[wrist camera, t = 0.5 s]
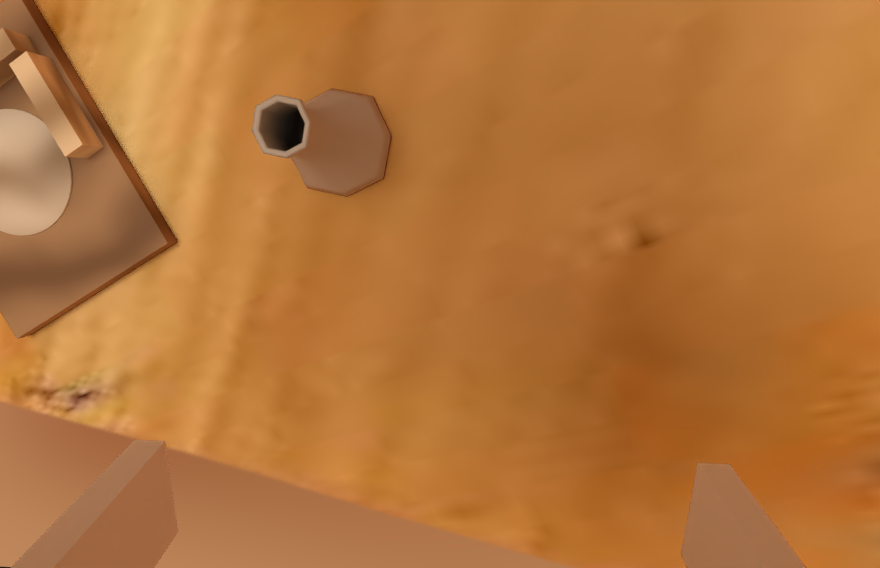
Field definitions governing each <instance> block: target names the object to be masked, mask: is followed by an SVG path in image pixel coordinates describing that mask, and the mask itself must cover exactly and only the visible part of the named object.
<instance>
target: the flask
mask: <svg viewBox="0 0 880 568" xmlns="http://www.w3.org/2000/svg"><path fill="white" fill-rule="evenodd" d="M252 132H253V134H254V136H255V138H256V140H257V142H258V144H259V146H260V148H261V150H262V152H263V153H264V154H269V155H274V156H278V157H283V158H291V159H292V160H293V162H294V164H295V165H296V167H297V169H298V170H299V172H300V174H301V176H302V179H303V181H304V183H305V185H306V186H307V188H309V189H313V190H318V191H323V192H328V193H332V194H337V195H342V196H346V197H347V196H349V195H351V194H353V193H355V192H357V191H359V190H361V189H363V188H365V187H367V186H369V185H371V184H373V183H375V182H377V181H379V180H381V179H383V177H384V172H385V166H386V160H387V155H388V149H389V144H390V138H391V135H390V133H389V131H388V129H387V126H386V124H385V122H384V120H383V118H382V116H381V114H380V111H379V109H378V107H377V105H376V103H375V101H374V99H373V96H368V95H363V94H358V93H353V92H347V91H342V90H337V89H330V90H328V91H326V92H324V93H322V94H321V95H319V96H317V97H315V98H313V99H311V100H310V101H308V102H306V103H304V104H303V102H302V100H300V99H296V98H291V97H286V96H280V95H275V96H273V97H271V98H269V99H267V100H266V101H264V102H262V103H260V104H258V105H257V106H255V114H254V121H253V128H252Z"/></svg>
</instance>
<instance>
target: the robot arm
mask: <svg viewBox="0 0 880 568" xmlns="http://www.w3.org/2000/svg"><path fill="white" fill-rule="evenodd" d="M177 532H178V529H177V521H176V514H175V507H174V500H173V493H172V486H171V479H170V472H169V465H168V458H167V451H166V444H165V441H152V440H134V441H133V442H132V443H131V444H130V445H129V447H127V449H126V450H125V451H124V452H123V453H122V454H121V455H120V456H119V457H118V458H117V459H116V460H115V461H114V462H113V463H112V464H111V465H110V466H109V467H108V468H107V469H106V470H105V471H104V472H103V473H102V474H101V475H100V476H99V477H98V478H97V480H95V482H94V483H93V484H92V485H91V486H90V487H89V488H88V489H87V490H86V491H85V492H84V493H83V494H82V495H81V496H80V497H79V498H78V499H77V500H76V501H75V502H74V503H73V504H72V505H71V506H70V508H68V509H67V510H66V511H65V512H64V513H63V514H62V515H61V516H60V517H59V519H58V520H57V521H56V522H55V523H54V524H53V525H52V526H51V527H50V528H49V529H48V530H47V531H46V532H45V533H44V534H43V535H42V536H41V537H40V538H39V539H38V540H37V541H36V542H35V543H34V544H33V545H32V547H30V549H28V550H27V551H26V553H25V554H24V555H23V556H22V557H21V558H20V559H19V560H18V561H17V562H16V563H15V564H14V565H13V566H12V567H0V568H154V567H155V566H156V564H157V563H158V561H159V560H160V558H161V557H162V555H163V554H164V552H165V551H166V549H167V548H168V546H169V545H170V543H171V542H172V540H173V539H174V537H175V536H176V534H177ZM681 556H682V558H683V560H684V562H685V564H686V566H687V568H806V567H805V566H804V564H803V563H802V561H801V560H800V559H799V557H798V556H797V555H796V553H795V552H794V551H793V549H792V548H791V547H790V545H789V544H788V542H787V541H786V540H785V538H784V537H783V536H782V534H781V533H780V532H779V530H778V529H777V528H776V526H775V525H774V523H773V522H772V521H771V519H770V518H769V517H768V515H767V514H766V513H765V511H764V510H763V508H762V507H761V506H760V504H759V503H758V502H757V500H756V499H755V498H754V496H753V495H752V494H751V492H750V491H749V489H748V488H747V487H746V485H745V484H744V483H743V481H742V480H741V479H740V477H739V476H738V475H737V473H736V472H735V470H734V469H733V468H732V466H731V465H730V464H713V463H698V465H697V470H696V476H695V481H694V486H693V492H692V497H691V503H690V508H689V514H688V519H687V524H686V530H685V535H684V541H683V546H682V551H681Z"/></svg>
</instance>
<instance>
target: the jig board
mask: <svg viewBox="0 0 880 568" xmlns="http://www.w3.org/2000/svg"><path fill="white" fill-rule="evenodd" d="M175 243H177V240H176V238H175V237H174V235H173V233H172V232H171V230H170V228H169V227H168V225H167V223H166V222H165V220H164V218H163V217H162V215H161V213H160V212H159V210H158V208H157V207H156V205H155V203H154V202H153V200H152V198H151V197H150V195H149V193H148V192H147V190H146V188H145V187H144V185H143V183H142V182H141V180H140V178H139V177H138V175H137V173H136V172H135V170H134V168H133V167H132V165H131V163H130V162H129V160H128V158H127V157H126V155H125V153H124V151H123V150H122V148H121V146H120V145H119V143H118V141H117V140H116V138H115V136H114V135H113V133H112V131H111V130H110V128H109V126H108V125H107V123H106V121H105V120H104V118H103V116H102V115H101V113H100V111H99V110H98V108H97V106H96V105H95V103H94V101H93V100H92V98H91V96H90V95H89V93H88V91H87V90H86V88H85V86H84V85H83V83H82V81H81V80H80V78H79V76H78V75H77V73H76V71H75V70H74V68H73V66H72V65H71V63H70V61H69V60H68V58H67V56H66V55H65V53H64V51H63V50H62V48H61V46H60V45H59V43H58V41H57V40H56V38H55V36H54V35H53V33H52V31H51V30H50V28H49V26H48V25H47V23H46V21H45V20H44V18H43V16H42V15H41V13H40V11H39V10H38V8H37V6H36V5H35V3H34V1H33V0H3V1H1V2H0V312H1V314H2V316H3V317H4V319H5V320H6V322H7V323H8V325H9V327H10V328H11V330H12V331H13V333H14V335H15V336H16V338H17V339H18V338H22V337H25V336H29V335H31V334H33V333H34V332H36V331H38V330H39V329H41V328H42V327H44V326H45V325H47V324H49V323H50V322H52V321H53V320H55V319H57V318H58V317H60V316H61V315H63V314H64V313H66V312H68V311H69V310H71V309H72V308H74V307H75V306H77V305H79V304H80V303H82V302H83V301H85V300H87V299H88V298H90V297H91V296H93V295H94V294H96V293H98V292H99V291H101V290H102V289H104V288H105V287H107V286H109V285H110V284H112V283H113V282H115V281H117V280H118V279H120V278H121V277H123V276H124V275H126V274H128V273H129V272H131V271H132V270H134V269H135V268H137V267H139V266H140V265H142V264H143V263H145V262H147V261H148V260H150V259H151V258H153V257H154V256H156V255H158V254H159V253H161V252H162V251H164V250H165V249H167V248H169V247H170V246H172V245H173V244H175Z"/></svg>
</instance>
